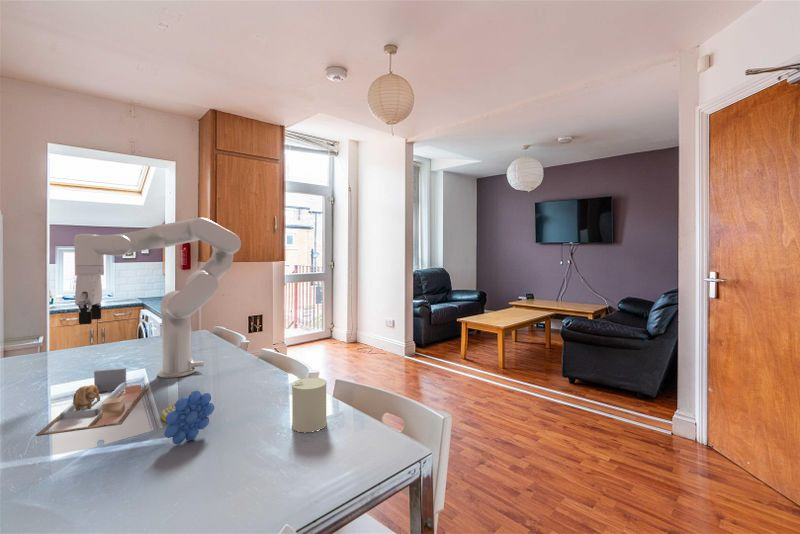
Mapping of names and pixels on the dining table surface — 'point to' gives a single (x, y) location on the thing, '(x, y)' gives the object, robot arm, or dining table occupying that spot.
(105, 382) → the grey long open box
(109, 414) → the cube
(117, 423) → the lane rails
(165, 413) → the decorated donut
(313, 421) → the can
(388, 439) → the dining table surface
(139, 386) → the broken strip
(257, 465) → the dining table surface
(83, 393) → the lion figurine
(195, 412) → the grapes
